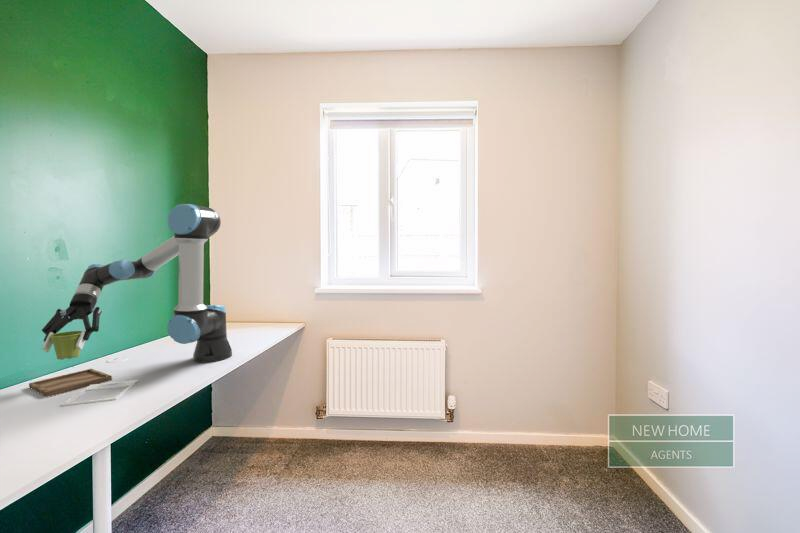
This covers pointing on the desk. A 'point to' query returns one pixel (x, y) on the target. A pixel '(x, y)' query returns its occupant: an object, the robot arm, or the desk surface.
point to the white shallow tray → (99, 387)
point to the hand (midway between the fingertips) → (62, 349)
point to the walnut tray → (69, 382)
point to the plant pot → (66, 344)
